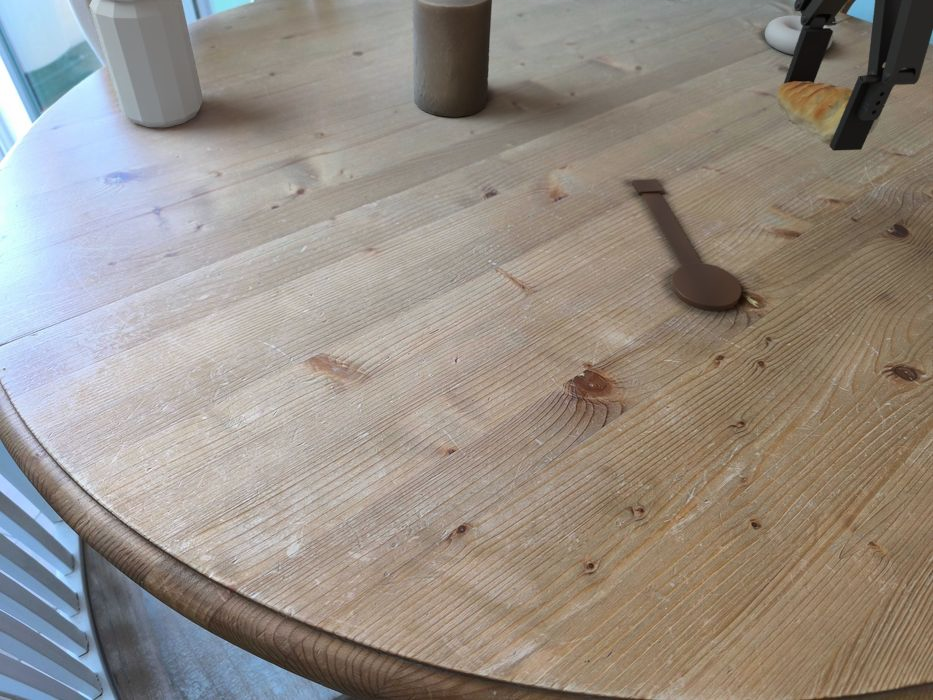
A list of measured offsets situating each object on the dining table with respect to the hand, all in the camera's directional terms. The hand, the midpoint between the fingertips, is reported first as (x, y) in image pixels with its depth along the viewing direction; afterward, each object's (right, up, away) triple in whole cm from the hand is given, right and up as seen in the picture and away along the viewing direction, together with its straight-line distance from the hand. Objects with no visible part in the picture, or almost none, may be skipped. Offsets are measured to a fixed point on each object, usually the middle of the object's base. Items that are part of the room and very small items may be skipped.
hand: (818, 120), depth 71 cm
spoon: (-12, -11, +6) cm, 17 cm away
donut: (+18, +25, +45) cm, 55 cm away
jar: (-71, +8, +22) cm, 75 cm away
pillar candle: (-36, +11, +28) cm, 46 cm away
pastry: (0, -1, 0) cm, 1 cm away
